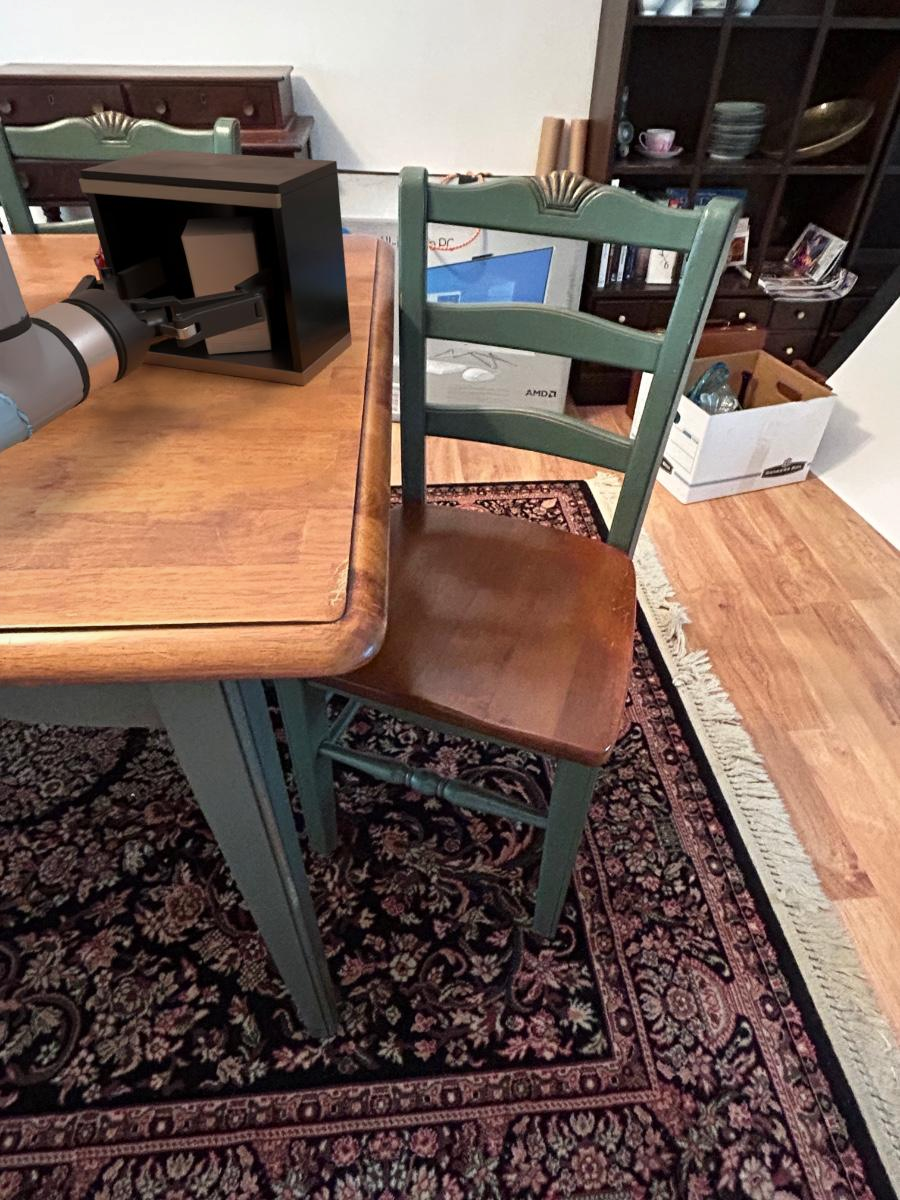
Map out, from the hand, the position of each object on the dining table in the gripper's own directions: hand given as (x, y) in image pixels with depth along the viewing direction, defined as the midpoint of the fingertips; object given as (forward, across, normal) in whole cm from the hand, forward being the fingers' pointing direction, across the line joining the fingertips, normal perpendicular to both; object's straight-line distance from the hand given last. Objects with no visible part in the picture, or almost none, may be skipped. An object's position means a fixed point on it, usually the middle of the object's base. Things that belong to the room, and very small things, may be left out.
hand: (214, 275), depth 79 cm
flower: (+14, -22, -10) cm, 27 cm away
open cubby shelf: (+2, 0, -10) cm, 10 cm away
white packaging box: (+2, 0, -8) cm, 9 cm away
